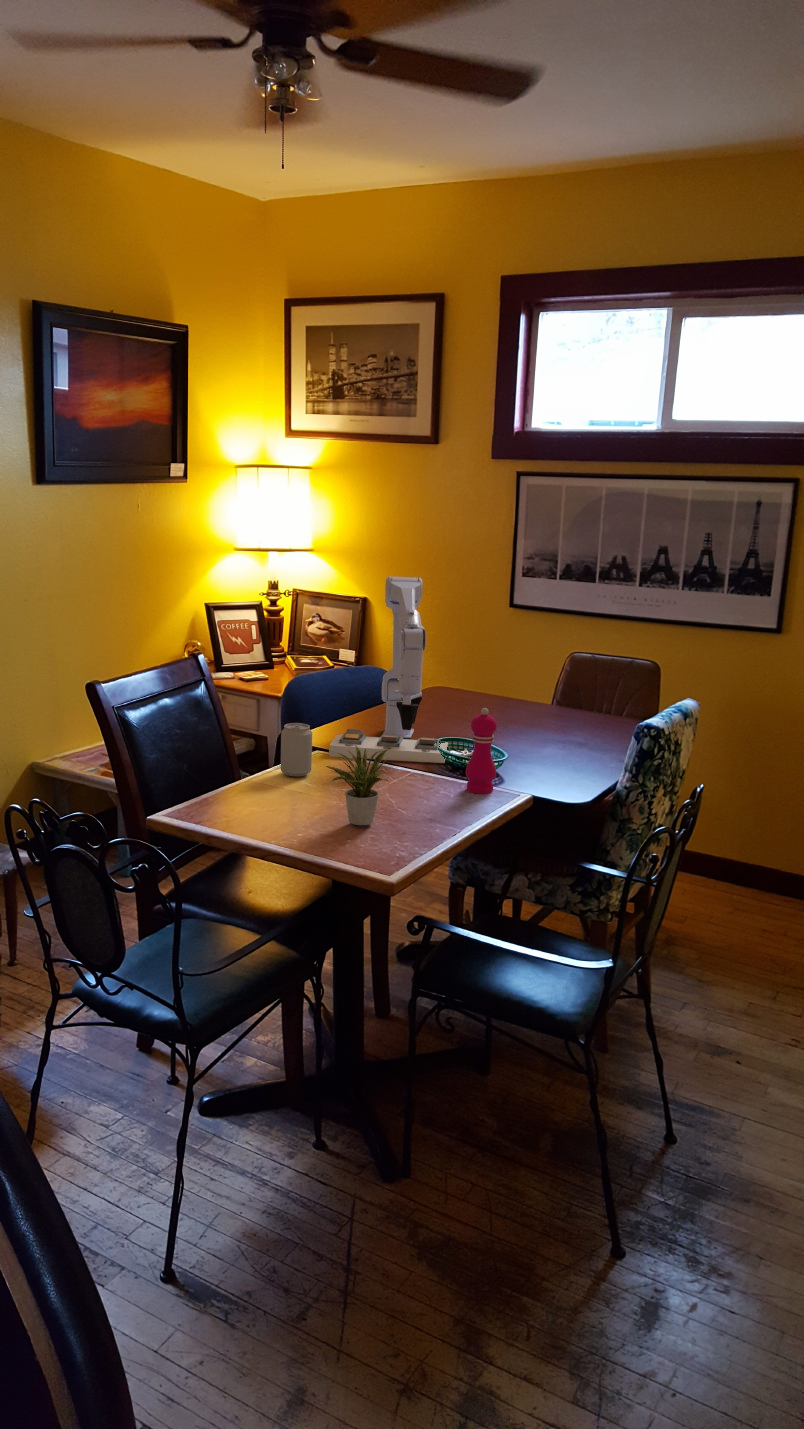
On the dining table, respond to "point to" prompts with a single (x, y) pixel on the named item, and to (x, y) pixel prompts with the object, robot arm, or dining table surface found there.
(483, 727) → the pepper mill
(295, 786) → the dining table surface
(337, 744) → the power strip
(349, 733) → the rocker
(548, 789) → the dining table surface
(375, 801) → the house plant
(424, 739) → the rocker
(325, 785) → the dining table surface
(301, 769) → the can
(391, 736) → the rocker
